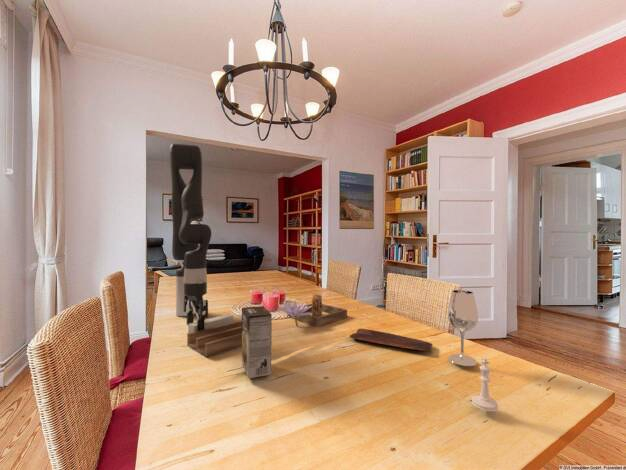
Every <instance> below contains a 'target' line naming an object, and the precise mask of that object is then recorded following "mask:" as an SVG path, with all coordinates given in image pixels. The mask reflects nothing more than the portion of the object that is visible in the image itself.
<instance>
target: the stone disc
mask: <svg viewBox="0 0 626 470" xmlns="http://www.w3.org/2000/svg"><path fill="white" fill-rule="evenodd" d="M311 304H312V311H311V313H312V314H311V315H312V316H316V317H320V316H323V312H322V304H323V299H322V295H321V294H318V293H317V294H313V295H312V299H311Z"/></svg>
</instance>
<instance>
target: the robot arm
mask: <svg viewBox="0 0 626 470" xmlns="http://www.w3.org/2000/svg"><path fill="white" fill-rule="evenodd" d="M169 167H170V176H171V178H170V179H171V215H172V216H171V217H172V242H171V243H172V244H171V247H172V248H171V252H172V258H173V259H174V260H175V261H184V266H182V267H180V268H177V269H176V271H175V295H176V296H175V297H176V298H175V301H176V302H175V312H176V313H175V315H176V316H178V317H186V325H187V326H188V324H191V323H195V322H194V321H195V320H194V316H195V315H196V319H197V320H196V322H197V330H199V331H200V330H204V320H206V319H207V318H208V319H209V301H208V299H204V298H203V297H204V295H207V293H208V289H207V288H208V274H207V254H208V248H209V245H210V243H211V242H210V241H211V239H212V230H211V227H210V226H209V225H208V224H205V223H203V224H202V223H192V222H194V221H199V220H201V219H203V218H204V214H205V213H204V206H203V194H202V190H203V189H202V186H203V183H202V182H203V156H202V151H201V148H200V146H198V145H194V144H186V143H185V144H183V143H172V144H171V145H170V146H169ZM180 170H193V173H192V177H191V178H190V180H189V182H188V184H186V183H185V181H184V178H183V177H182V175H181V172H180Z"/></svg>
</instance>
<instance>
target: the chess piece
mask: <svg viewBox="0 0 626 470" xmlns="http://www.w3.org/2000/svg"><path fill="white" fill-rule="evenodd" d="M480 364H481V365H480V366H479V370H480V373H481V375H480V376H479V378H478V379H479V380H481V389H480V394H478V395H474V396H472V398H471V403H472V405H473V406H474V407H476V408H478V409H479V410H482V411H485V412H495V411H498V409H499V405H498V403H497V401H496V400H494V399H493V398H491V397H490V393H489V386H488V385H489V384H488V383H489V382H491V381H492V380H491V378H490V377H488V376H489V374H490V372H491V367H490V366H487V365H489V364H490V361H489V360H488V359H487V358H486V357H484V358H483V360H481V361H480Z"/></svg>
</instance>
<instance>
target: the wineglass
mask: <svg viewBox="0 0 626 470" xmlns="http://www.w3.org/2000/svg"><path fill="white" fill-rule="evenodd" d="M475 298H476V297H475V295H474V291H471V290H464V289H454V290H451V293H450V297H449V303H448V308H447V319H448V322H449V323H450V325H451V326H452V327H453V329H455V330H457V331H459V333H460V354H459V353H457V354H450V355H448V356H447V358H448V360H449V361H450V362H451V363H453V364H455V365H459V366H462V367H463V366H464V367H474V366H476V365H478V361H477V360H476V359H475V358H473V357H471V356H469V355H465V352H464V351H465V350H464V348H465V347H464V346H465V345H464V344H465V333H466V332H469V331H471V330H472V329H474V328H475V327H476V326H477V323H478V319H479V314H478V308H477V307H478V306H477V302H476V299H475Z"/></svg>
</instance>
